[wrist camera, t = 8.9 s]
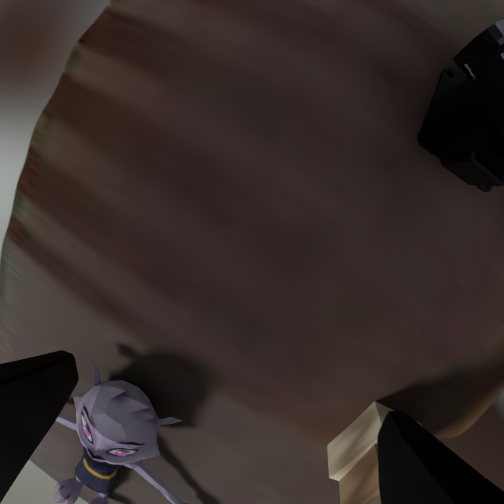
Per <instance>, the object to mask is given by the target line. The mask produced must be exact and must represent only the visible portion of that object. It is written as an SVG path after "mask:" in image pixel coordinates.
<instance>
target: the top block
mask: <svg viewBox="0 0 504 504" xmlns="http://www.w3.org/2000/svg"><path fill="white" fill-rule="evenodd" d="M339 487H340V503H341V504H368V503H369V502H371V501H373V500H374V499H376V498H379V497H380V491H379V478H378V445H377V444H374V445H373V446H372V447H371V448H370V449H369V450H368V451H367V452H366V454H365V455H364V456H363V457H362V458H361V459H360V460H359V461H358V462H357V463H356V464H355V465H354V466H353V468H352V469H351V470H350V471H349V472H348V473H347V474H346V475H345V476H344V477H343V478H342V479H341V480H340V481H339Z"/></svg>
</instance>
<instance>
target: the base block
mask: <svg viewBox="0 0 504 504" xmlns="http://www.w3.org/2000/svg"><path fill="white" fill-rule="evenodd" d="M389 411H394V410H392V409H390V408H388V407H386V406H384V405H382V404H379V403H377V402H375V401H374V402H373V403H372V404H371V405H370V406H369V407H368V408H367V409H366V410H365V411H364V412H363V413H362V414H361V415H360V416H359V417H358V418H357V419H356V420H355V421H354V422H353V423H352V424H351V425H349V426H348V427H347V428H346V429H345V430H344V431H343V432H342V433H341V434H340V435H338V436H337V437H336V438H335V439H334V440H333V441H331V442H330V443H329V444H328V445H327V447H328V464H329V478H331V479H335V480H338V481H340V480H341V479H342V478H343V477H344V476H345V475H346V474H347V473H348V472H349V471H350V470H351V469H352V468H353V466H354V465H355V464H356V463H357V462H358V461H359V460H360V459H361V458H362V457H363V456H364V455H365V454H366V452H367V451H368V450H369V449H370V448H371V447H372V446H373V445H374V444H377V437H378V432H379V430H380V428H381V426H382V424H383V421H384V419H385V417H386V415H387V413H388V412H389ZM416 422H417V421H416ZM417 423H418V424H420V425H421V426H422V424H421V423H420V422H417ZM422 427H423V426H422Z"/></svg>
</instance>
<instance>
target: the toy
mask: <svg viewBox="0 0 504 504" xmlns="http://www.w3.org/2000/svg"><path fill="white" fill-rule="evenodd" d="M91 362H92V360H91ZM92 367H93V373H94V379H95V386H94V387H93V388H92V389H91V390H90V391H89V392H88V393H87V394H84V395H80V396H75V397H73V398H74V403H75V408H76V417H77V419H75V418H73V417H71V416H68V415H66V414H64V413H60V414H59V416H58V418H57V419H56V421H58V422H59V423H61V424H63V425H65V426H67V427H69V428H71V429H73V430H75V431H77V432H78V435H79V438H80V440H81V443H82V444H83V445H84V455H83V456H82V458H81V460H80V462H79V464H78V465H77V466H76V469H75V474H76V477H74V478H71V479H68V480H64V481H61V482H59V483H57V484H56V487H55V489H57V490H59V491H57V492H56V494H55V496H54V501H55V502H56V503H62V502H64V501H65V504H74V503H75V501H76V500H77V499H78V496H79V494H80V492H81V489H82V487H83V484H84V485H86V486H87V487H88V488H90V489H92V490H94V491H96V492H98V494H97V495H96V496H95V498H94V499H93V500H92V501H91V502H90V503H89V504H108V497H107V494H108V493H109V492H110V491H111V490H112V486H113V483H114V481H115V479H116V477H117V471H118V469H119V468H120V467H122V466H123V465H124V466H126V467H128V468H132V469H134V470H135V471H136V472H137V473H139V474H140V475H141V476H142V477H143V478H145V479H146V480H147V481H148V482H149V483H151V484H152V485H153V486H155V487H156V488H157V489H158V490H160V491H161V492H162V493H163V495H164V496H165V497H166V498H167V499H168V500H169V501H170V502H171V503H173V504H187V503H184V502H183V501H182V500H181V499H180V498H179V497H178V496H177V495H176V494H175V493H174V492H173V491H172V490H171V489H170V488H169V487H168V486H166V484H165V483H164V482H163V481H162V480H161V479H160V478H159V477H158V476H157V475H156V474H155V473H154V472H153V471H151V470H150V469H149V468H148V467H147V466H146V465H145V464H144V463H143V462H142V459H146V458H151V457H155V456H160V451H159V447H158V442H157V433H158V427H159V425H167V424H172V423H176V422H179V421H182V420H179V419H176V418H172V417H168V418H164V419H159V418H158V416H157V414H156V412H155V410H154V408H153V406H152V404H151V402H150V400H149V398H148V397H147V396H146V395H145V394H144V393H143V392H142V390H141V389H140V388H139V387H137V386H135V385H132V384H130V383H128V382H126V381H123V380H118V381H106V382H103V383H101V380H100V375H99V370H98V368H97V367H96V365H95V364H94V363H93V362H92ZM66 498H67V499H66Z"/></svg>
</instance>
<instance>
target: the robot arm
mask: <svg viewBox="0 0 504 504" xmlns="http://www.w3.org/2000/svg"><path fill="white" fill-rule="evenodd" d="M453 60H454V62H455V63H456V64H457V66H458V67H461V69H462V70H463V71H464V73H465V74H466V76H467V77H468V79H465V78H464V77H463V76H461V75H460V74H459V73H457V72H456V71H454V70H453V69H452V68H449V67H447V68H445V69H444V70H443V71H442V73H441V76H440V79H439V82H438V85H437V87H436V90H435V93H434V96H433V98H432V101H431V104H430V106H429V109H428V111H427V114H426V116H425V119H424V121H423V124H422V126H421V129H420V131H419V134H418V137H417V141H418V143H419V145H420V146H421V147H423V148H424V149H426V150H427V151H429V152H430V153H432V154H433V155H435V156H436V157H438V158H439V159H441V160H440V162H441V164H442V166H444V167H445V168H446V169H448V170H449V171H451V172H452V173H453V174H455V175H456V176H457V177H459V178H460V179H461V180H463V181H464V182H465V183H467V184H468V185H475V186H477V187H478V188H479V189H480V190H482V191H484V192H489V191H490V190H491V189H492V186H502V185H504V18H502V19H501V20H499V21H498V22H496V23H495V24H493V25H492V26H490V27H489V28H487V29H486V30H484V31H483V32H482V33H480V34H479V35H478V36H476V37H475V38H474V39H473V40H472V41H471V42H470V43H468V44H467V45H466V46H465V47H464V48H463V49H462V50H461V51H460V52H459V53H458V54H457V55H456V56H455V57H454V58H453ZM447 72H448V73H449V74H450V75H451V77H449V76H448V74H447ZM423 136H425V137H426V138H427V143H425V142H424V141H423ZM485 186H486V187H485ZM77 382H78V371H77V367H76V362H75V357H74V356H73V354H71V353H69V352H66V351H63V350H61V351H56V352H52V353H48V354H44V355H39V356H35V357H30V358H26V359H21V360H17V361H12V362H7V363H3V364H0V503H1V501H2V500H3V498H4V496H5V495H6V493H7V492H8V490H9V489H10V487H11V486H12V484H13V482H14V481H15V479H16V478H17V476H18V475H19V473H20V471H21V470H22V469H23V467H24V465H25V464H26V463H27V461H28V460H29V458H30V457H31V455H32V454H33V452H34V451H35V449H36V448H37V446H38V445H39V444H40V442H41V441H42V439H43V438H44V436H45V435H46V434H47V432H48V431H49V429H50V428H51V426H52V425H53V424H54V422H55V421H56V419H57V418H58V416H59V414H60V413H61V411H62V409H63V407H64V405H65V404H66V402H67V400H68V398H69V397H70V395H71V393H72V391H73V390H74V388H75V386H76V385H77ZM377 445H378V478H379V491H380V499H381V504H504V491H503V490H501V489H500V488H498V487H497V486H496V485H494V484H493V483H492V482H491V481H489V480H488V479H487V478H485V479H484V476H483V475H482V474H480V473H479V472H478V471H476V470H475V469H474V468H473V467H471V466H470V465H469V464H468V463H466V462H465V461H464V460H463V459H461V458H460V457H459V456H458V455H456V454H455V453H454V452H453V451H452V450H450V449H449V448H448V447H447V446H445V445H444V444H443V443H442V442H440V441H439V440H438V439H437V438H436V437H434V436H433V435H432V434H431V433H429V432H428V431H427V430H426V429H425V428H423V427H422V426H421V425H420V424H418V423H417V422H416V421H415V420H414V419H412V418H411V417H410V416H409V415H408V414H406V413H405V412H404V411H389V412H388V413H387V415H386V417H385V419H384V421H383V424H382V426H381V428H380V430H379V432H378V437H377Z"/></svg>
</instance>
